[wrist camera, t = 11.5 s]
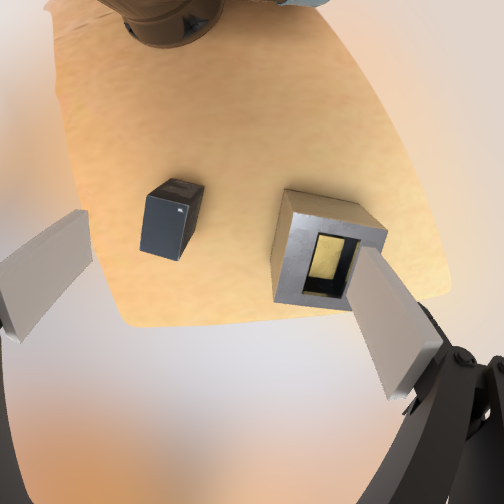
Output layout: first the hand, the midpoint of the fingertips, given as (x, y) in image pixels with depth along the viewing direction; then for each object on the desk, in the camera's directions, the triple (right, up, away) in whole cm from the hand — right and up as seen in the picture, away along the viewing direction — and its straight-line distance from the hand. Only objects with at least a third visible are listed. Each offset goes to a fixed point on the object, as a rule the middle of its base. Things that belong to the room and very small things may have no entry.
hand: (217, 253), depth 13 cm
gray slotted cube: (+11, +3, +33) cm, 35 cm away
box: (-9, +7, +32) cm, 34 cm away
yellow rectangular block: (+12, +3, +32) cm, 34 cm away
